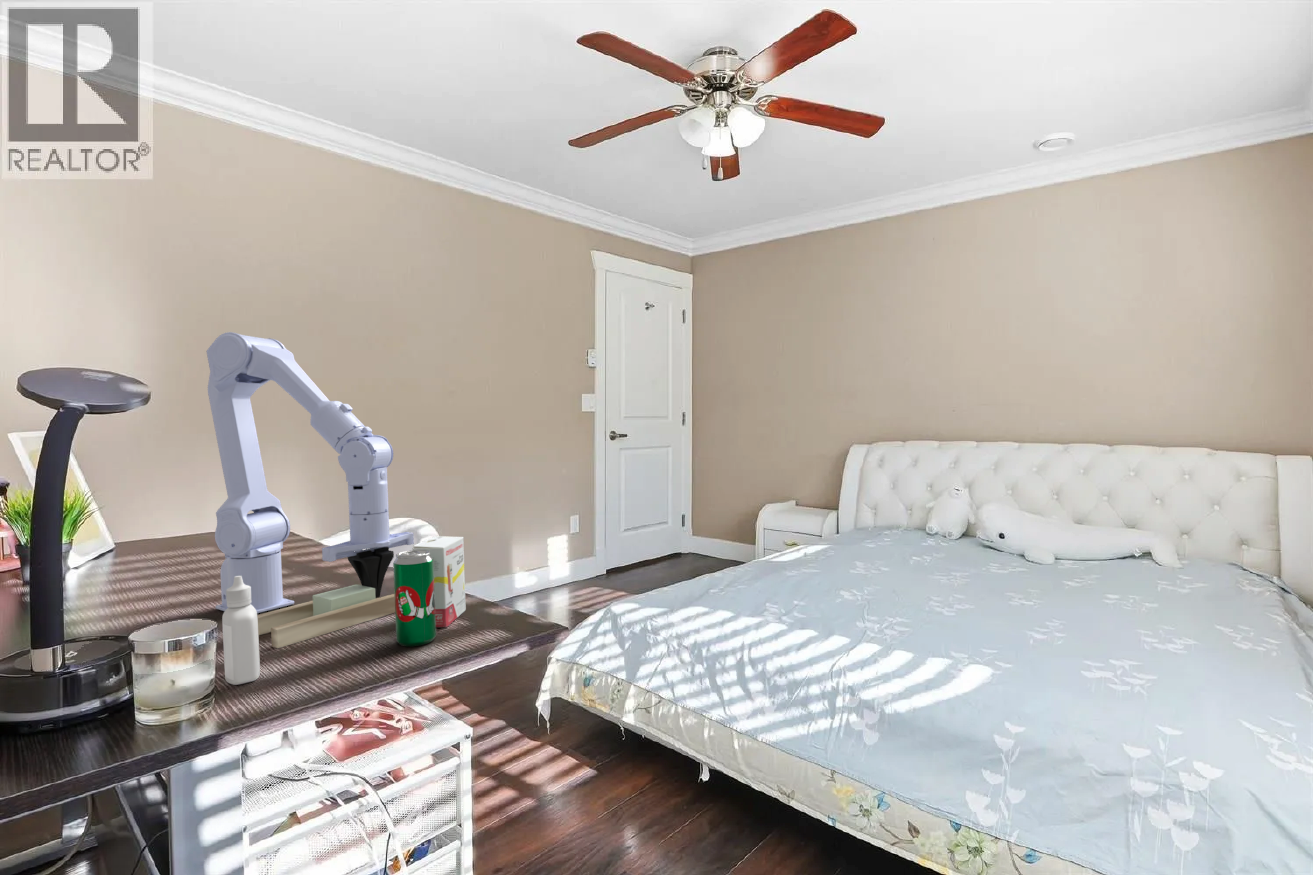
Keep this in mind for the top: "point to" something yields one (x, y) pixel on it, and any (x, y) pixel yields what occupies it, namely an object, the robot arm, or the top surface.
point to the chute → (318, 620)
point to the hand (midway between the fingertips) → (372, 597)
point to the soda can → (414, 598)
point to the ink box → (447, 576)
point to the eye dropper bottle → (240, 635)
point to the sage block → (341, 598)
